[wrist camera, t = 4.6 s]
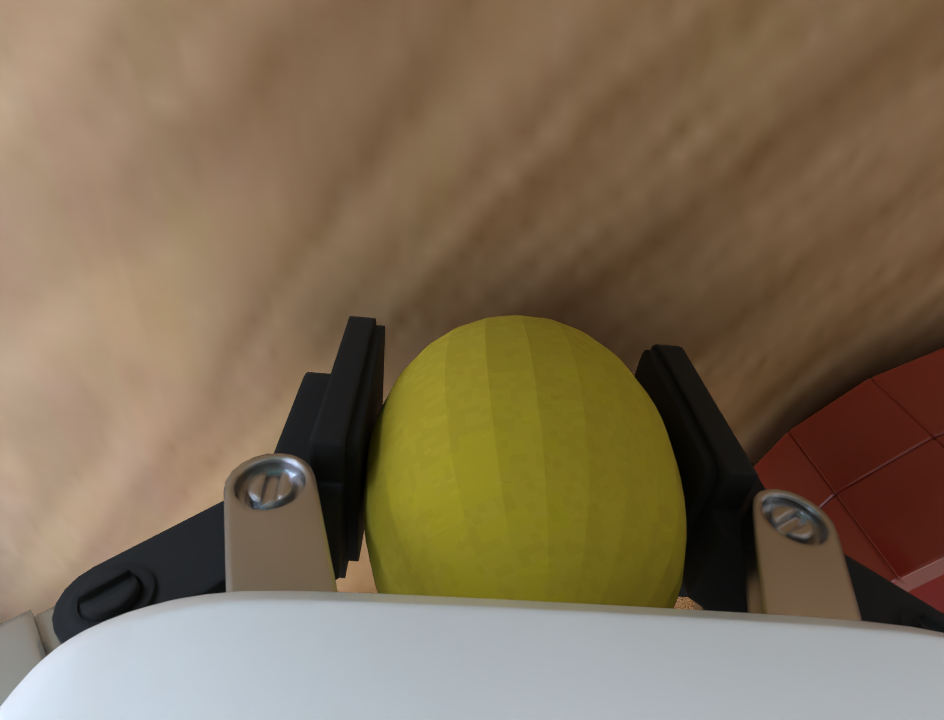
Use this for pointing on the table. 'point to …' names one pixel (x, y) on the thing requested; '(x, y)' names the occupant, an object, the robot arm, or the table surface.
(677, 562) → the lemon
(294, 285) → the table surface
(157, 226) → the table surface
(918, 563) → the bowl
